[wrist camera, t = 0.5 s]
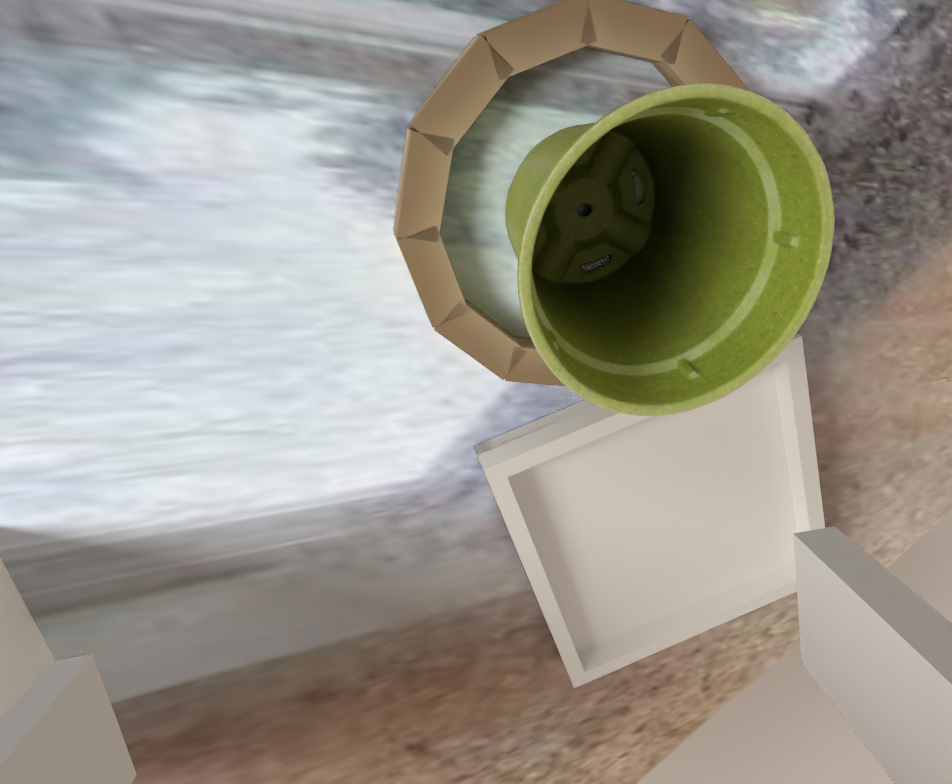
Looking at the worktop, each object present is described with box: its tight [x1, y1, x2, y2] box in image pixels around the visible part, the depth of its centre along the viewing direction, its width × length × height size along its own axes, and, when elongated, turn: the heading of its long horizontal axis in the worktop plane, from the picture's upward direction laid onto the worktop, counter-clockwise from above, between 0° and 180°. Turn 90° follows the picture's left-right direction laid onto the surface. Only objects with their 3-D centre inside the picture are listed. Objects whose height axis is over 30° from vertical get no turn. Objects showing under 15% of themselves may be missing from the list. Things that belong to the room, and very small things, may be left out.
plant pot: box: [506, 83, 835, 416], centre depth 23 cm, size 9×9×9 cm
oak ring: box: [393, 0, 749, 386], centre depth 27 cm, size 14×14×1 cm
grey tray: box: [474, 333, 825, 688], centre depth 34 cm, size 15×15×2 cm
